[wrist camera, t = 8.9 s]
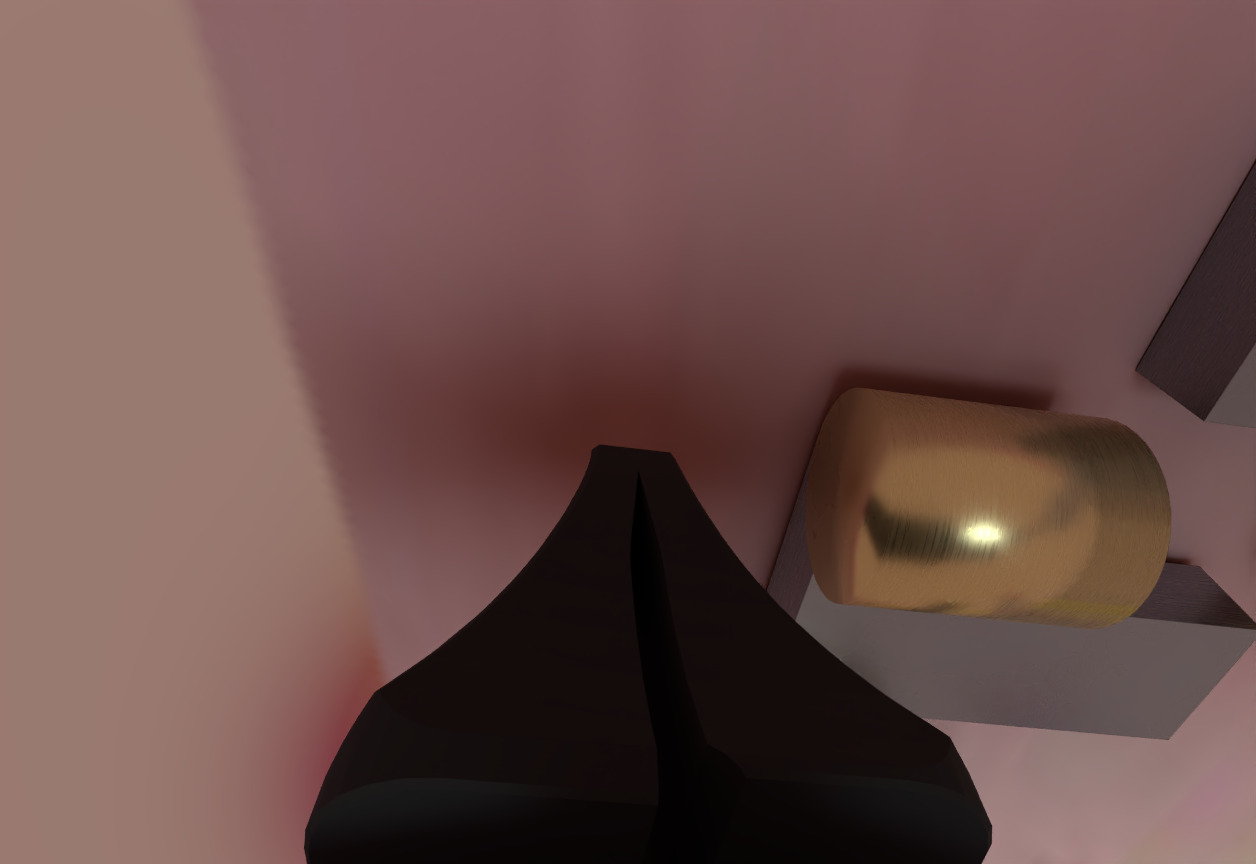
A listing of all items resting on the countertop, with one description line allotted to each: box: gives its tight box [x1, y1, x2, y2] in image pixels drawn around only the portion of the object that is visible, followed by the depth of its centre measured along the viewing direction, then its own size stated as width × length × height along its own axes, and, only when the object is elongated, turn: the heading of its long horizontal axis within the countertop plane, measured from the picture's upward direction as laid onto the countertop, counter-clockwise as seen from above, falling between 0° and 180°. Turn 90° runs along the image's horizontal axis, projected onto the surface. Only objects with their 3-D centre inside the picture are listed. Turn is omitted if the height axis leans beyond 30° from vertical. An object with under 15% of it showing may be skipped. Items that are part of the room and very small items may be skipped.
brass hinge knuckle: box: [767, 387, 1256, 740], centre depth 15 cm, size 10×8×4 cm
